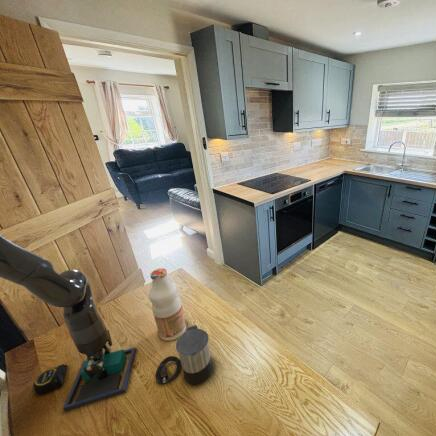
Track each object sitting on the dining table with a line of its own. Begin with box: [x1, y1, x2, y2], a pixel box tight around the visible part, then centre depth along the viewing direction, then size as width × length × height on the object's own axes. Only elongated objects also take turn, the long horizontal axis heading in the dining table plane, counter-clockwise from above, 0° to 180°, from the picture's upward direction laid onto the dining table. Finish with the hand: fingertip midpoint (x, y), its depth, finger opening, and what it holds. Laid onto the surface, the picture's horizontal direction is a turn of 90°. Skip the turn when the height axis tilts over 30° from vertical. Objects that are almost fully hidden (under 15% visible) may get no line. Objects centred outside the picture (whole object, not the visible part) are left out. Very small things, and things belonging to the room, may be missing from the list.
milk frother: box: [155, 324, 214, 386], centre depth 74 cm, size 14×16×15 cm
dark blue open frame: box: [62, 347, 137, 412], centre depth 74 cm, size 15×15×2 cm
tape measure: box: [32, 363, 69, 395], centre depth 72 cm, size 7×7×4 cm
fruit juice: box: [148, 267, 187, 342], centre depth 86 cm, size 9×9×28 cm
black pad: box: [74, 373, 122, 402], centre depth 71 cm, size 10×5×2 cm, turn 111°
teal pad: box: [81, 349, 128, 384], centre depth 76 cm, size 10×5×5 cm, turn 111°
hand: (106, 369), depth 77 cm, fingers open, 5 cm apart
